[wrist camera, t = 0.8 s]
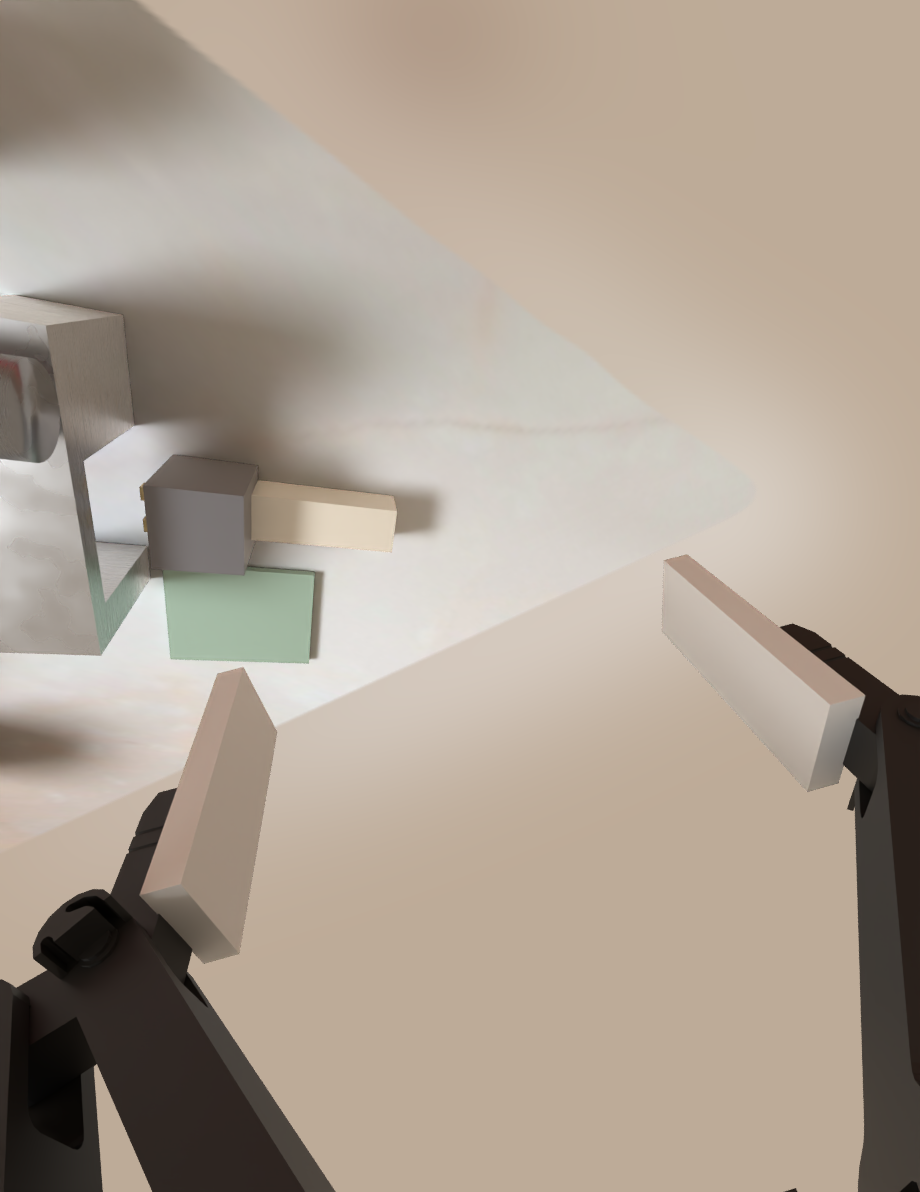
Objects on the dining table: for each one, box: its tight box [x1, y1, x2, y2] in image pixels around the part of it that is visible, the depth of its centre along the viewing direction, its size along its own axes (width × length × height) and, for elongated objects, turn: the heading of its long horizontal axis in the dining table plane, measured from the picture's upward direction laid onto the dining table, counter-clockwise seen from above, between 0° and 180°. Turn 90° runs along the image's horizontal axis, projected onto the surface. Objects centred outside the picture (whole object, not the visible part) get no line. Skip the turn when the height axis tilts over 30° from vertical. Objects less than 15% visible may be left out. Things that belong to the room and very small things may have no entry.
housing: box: [0, 295, 150, 656], centre depth 26 cm, size 5×16×13 cm, turn 169°
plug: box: [140, 455, 397, 576], centre depth 33 cm, size 15×5×6 cm, turn 79°
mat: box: [163, 567, 315, 664], centre depth 39 cm, size 10×8×1 cm
